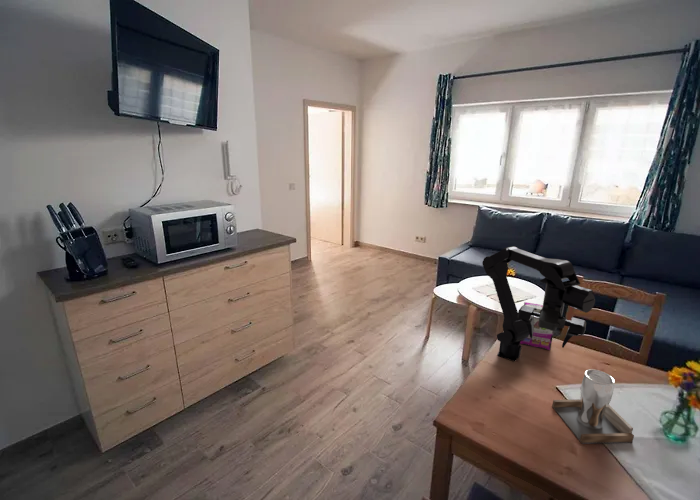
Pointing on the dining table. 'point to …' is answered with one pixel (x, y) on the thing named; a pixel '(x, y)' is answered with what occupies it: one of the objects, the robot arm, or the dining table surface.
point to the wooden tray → (610, 432)
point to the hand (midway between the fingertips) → (546, 342)
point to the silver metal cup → (595, 398)
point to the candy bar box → (538, 332)
